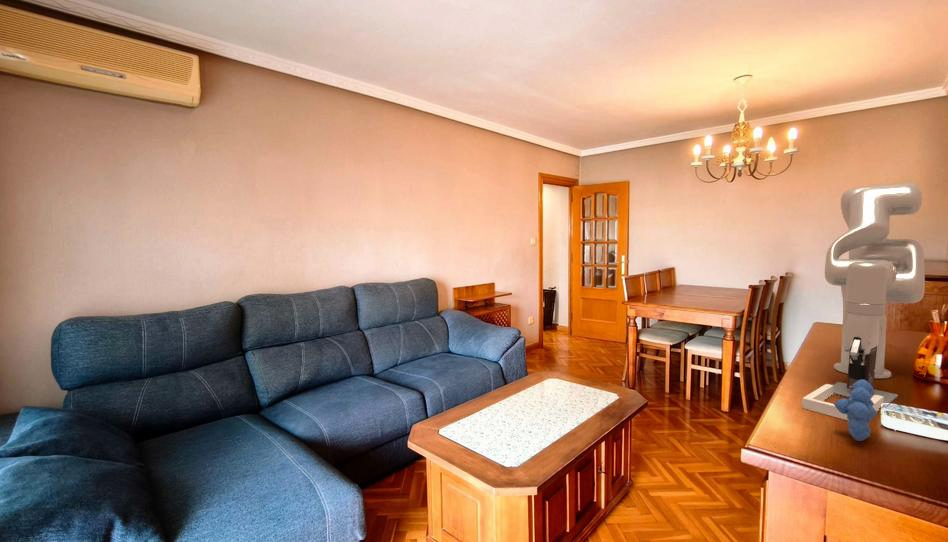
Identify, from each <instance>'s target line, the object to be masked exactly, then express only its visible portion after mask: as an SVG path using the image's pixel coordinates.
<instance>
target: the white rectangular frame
mask: <svg viewBox="0 0 948 542" xmlns="http://www.w3.org/2000/svg"><path fill="white" fill-rule="evenodd" d="M833 388H834V384H829V383H825V384H823V385H822V386H820V387H819V388H816V389H815V390H813V391H812V392H809V394H806V395H805V396H803V397H802V399H801V409H804V410H807V409H808V411H812V412H816V413H819V414H822V415H827V416H830V417H834V418H836V419H837V418H838V419H841V420H844V421H847V422H848V421H849V420H848V418H847V417H848V416H847V414H842V413H841V412H839V410H838V409H837V408H836V407H835V405H834V403H832V402H826V401H825V399H826V400H827V399H829V398H830V397H832V396H834V394H833ZM831 395H832V396H831ZM828 397H829V398H828ZM883 399H884V396H879V395H874V396H873V397H872V398H871V400H872V401H873V403H874V405H873V406H872V407H873V408H874V409H875V410H876V412H877V413H878V412H879V411H880V409H879V408H880V406H881V404H882V403H883Z"/></svg>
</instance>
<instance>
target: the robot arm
mask: <svg viewBox="0 0 948 542" xmlns="http://www.w3.org/2000/svg"><path fill="white" fill-rule="evenodd" d="M922 196H923V195H922V191H921V189H920V187H919V186H918V185H917V184H916V183H914V182H907V183H906V182H905V183H892V184H891V183H890V184H881V185H880V184H877V185H867V186H859V187H855V188H850V189H848V190H846V191H845V192H843V193H842V194H841V198H840V209H841V214H842V217H843V220H844V221H845V224H846V226H847V228H848V231H846V232H844V233H843V234H841V235H840V236H838V237H837V238H836V239H835V240H834V241H833V242H832V243H831V245H829V248H827V249H828V250H827V252H826V257H825V262H824V263H825V264H824V278H825V280H826V282H827V283H828V284H829V285H832V286H838V287H840V289H841V297H842V298H841V299H842V330H841V331H842V333H841V353H840V362H836V363H835V364H833V368H834V369H835V370H836V371H838V372H840V373H843V374H847V375H848V365H849V353H850V355H851V357H850V365H849V377H850V378H852V379H857V380H866V371H867V366H866V365H865V362H866V355H867V354H870V351H871V349H872V348H874V347H876V346H877V354H876V364H875V377H874V379H889V378H891V377H892V372H891V371H890V370H888V369H886V368H885V355H886V354H885V352H886V338H887V337H886V336H887V335H886V334H887V333H886V332H887V316H886V303H894V304H895V303H896V304H901V303H902V304H914V303H919V302H920V301H921V300H922V299H923V298H924V296H925V292H926V291H925V290H926V283H925V281H926V279H925V278H926V277H925V254H924V249H923V246H922V244H921V243H920V242H919V241H917V240H915V239H911V238H909V239H907V238H891V239H890V238H888V236H889V234H890V229H891V227H890V226H891V225H890V222H891V220H890V219H891V216H909V215H915V214H917V213H918V212H919V211H920V209H921V207H922V201H923V197H922ZM846 253H848V258H845V259H844V258H843V259H841V258H840V257H842V255H844V254H846ZM851 346H852V349H850V348H851ZM850 350H851V352H850ZM859 350H861V351H864V352H863V353H860V352H859ZM859 355H861V356H862V359H861V356H859Z"/></svg>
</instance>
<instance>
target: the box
mask: <svg viewBox="0 0 948 542" xmlns="http://www.w3.org/2000/svg"><path fill="white" fill-rule="evenodd" d="M850 349H852V346H851V348H850ZM850 352H851V350H850ZM859 352H860V353H863V352H864V351H861V350H859ZM876 354H877V346H876V347H874V348H872V349H871V351H870V354H867V355H866V362H865V365H866V366H867V371H866V381H867V382H868V383H869V384H870V385H871V386H872V387H873V388H874V387H875V386H874V385H875V378H874V377H875V364H876ZM859 356H861V355H859ZM850 357H851V355H850V353H849V365H850ZM861 359H862V356H861ZM849 365H848V374H847V379H846V384H847V389H849V390H854V389H853V386H852V385H853V384H854V383H855V382H857V381H858V380H857V379H852V378H850V377H849Z"/></svg>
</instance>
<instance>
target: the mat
mask: <svg viewBox="0 0 948 542" xmlns="http://www.w3.org/2000/svg"><path fill="white" fill-rule="evenodd" d="M833 385H834V388H833V395H836V394H838V395H837V396H840V395H842V396H841V397H844V396H846V397H845V398H848V397H849V396H850V395H851V394H850V392H851V391H852V390H849V389H847V382H846V383H844V382H840V381H837V382H835V383H834V384H833ZM873 391H874V392H875V393H874V394H872V395H871V396H872V397H873V396H874V395H879V396H884V399H883V403H890V404H891V403H892V402H893V401H895V399H897V398H898V397H899V394H896V393H892V392H888V391H883V390H878V389H874V390H873Z"/></svg>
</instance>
